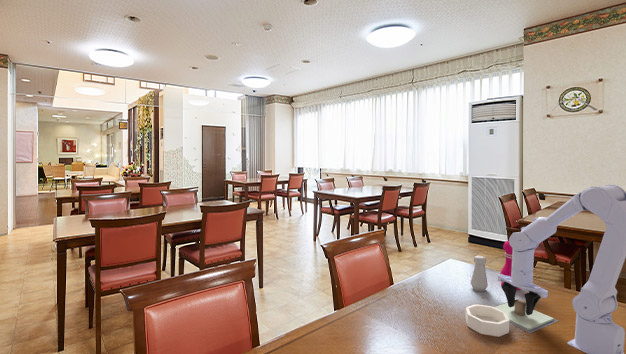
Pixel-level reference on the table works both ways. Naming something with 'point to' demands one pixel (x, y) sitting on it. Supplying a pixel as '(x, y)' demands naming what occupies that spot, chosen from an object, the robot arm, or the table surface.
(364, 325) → the table surface
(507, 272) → the pepper mill
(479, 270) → the salt shaker
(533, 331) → the mat
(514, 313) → the cover
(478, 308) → the bowl
